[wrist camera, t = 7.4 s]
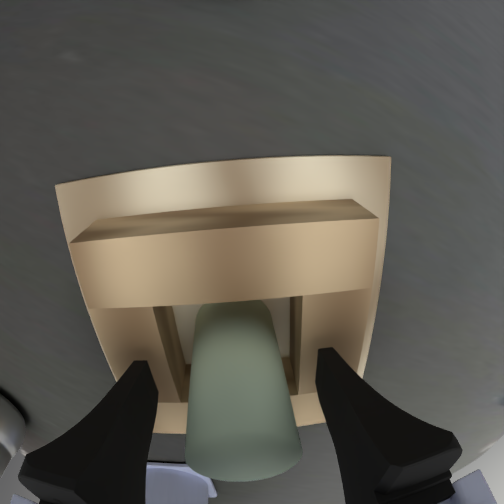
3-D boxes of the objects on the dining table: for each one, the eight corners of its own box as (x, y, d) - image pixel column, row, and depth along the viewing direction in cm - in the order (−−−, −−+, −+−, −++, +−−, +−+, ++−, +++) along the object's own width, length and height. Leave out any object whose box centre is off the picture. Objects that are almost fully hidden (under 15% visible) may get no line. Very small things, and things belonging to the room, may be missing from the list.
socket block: (133, 409, 19) (124, 446, 16) (58, 183, 13) (21, 201, 10) (355, 393, 20) (370, 428, 17) (387, 156, 14) (425, 167, 10)
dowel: (209, 358, 17) (207, 486, 10) (185, 302, 15) (165, 440, 8) (278, 343, 17) (307, 470, 10) (263, 283, 15) (294, 420, 8)
